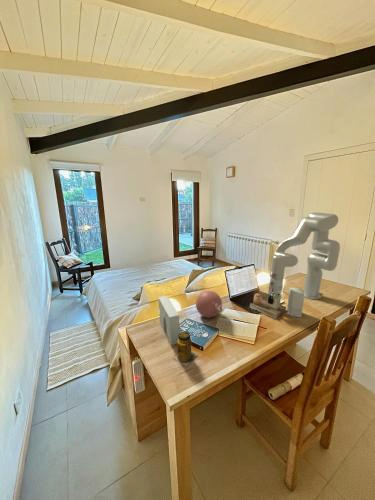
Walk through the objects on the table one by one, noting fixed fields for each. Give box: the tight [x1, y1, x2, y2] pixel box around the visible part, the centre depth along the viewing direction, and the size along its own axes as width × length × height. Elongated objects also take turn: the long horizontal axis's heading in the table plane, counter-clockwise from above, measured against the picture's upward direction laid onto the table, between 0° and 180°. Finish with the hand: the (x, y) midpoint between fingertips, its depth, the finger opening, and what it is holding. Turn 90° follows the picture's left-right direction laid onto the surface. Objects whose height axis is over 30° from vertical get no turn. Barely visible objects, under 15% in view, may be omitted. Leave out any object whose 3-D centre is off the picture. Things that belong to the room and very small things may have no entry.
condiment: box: [173, 331, 198, 367], centre depth 93 cm, size 7×8×12 cm
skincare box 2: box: [286, 287, 305, 318], centre depth 127 cm, size 8×7×16 cm
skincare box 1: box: [158, 294, 181, 346], centre depth 110 cm, size 21×6×16 cm, turn 22°
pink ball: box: [195, 290, 223, 319], centre depth 123 cm, size 15×20×15 cm
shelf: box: [249, 297, 287, 320], centre depth 134 cm, size 15×17×3 cm
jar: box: [252, 292, 263, 306], centre depth 135 cm, size 5×5×7 cm
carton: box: [266, 294, 282, 310], centre depth 132 cm, size 6×5×8 cm
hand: (273, 301), depth 132 cm, fingers open, 8 cm apart
